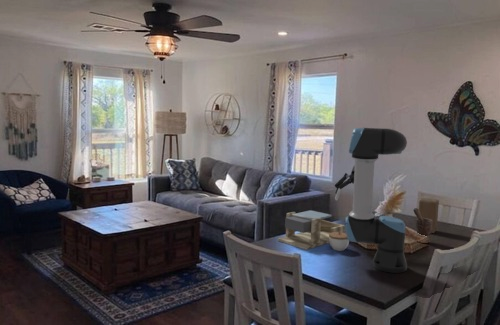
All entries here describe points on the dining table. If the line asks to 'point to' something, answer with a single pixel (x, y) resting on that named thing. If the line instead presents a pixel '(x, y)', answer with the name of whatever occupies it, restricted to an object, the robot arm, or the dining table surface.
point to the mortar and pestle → (422, 224)
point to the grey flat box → (303, 220)
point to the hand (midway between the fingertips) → (347, 202)
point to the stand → (312, 234)
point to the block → (429, 211)
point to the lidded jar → (338, 241)
